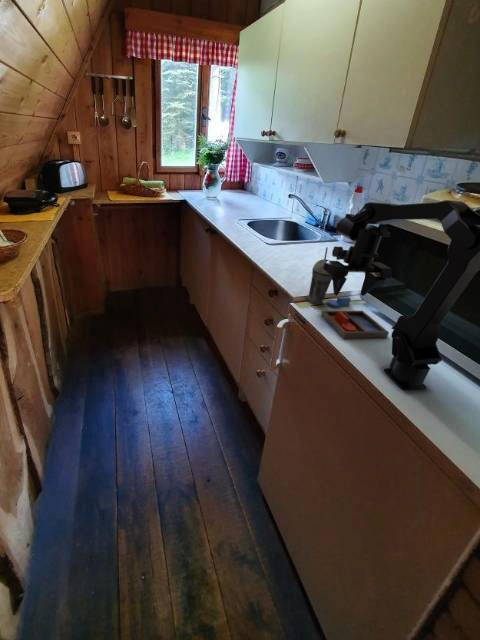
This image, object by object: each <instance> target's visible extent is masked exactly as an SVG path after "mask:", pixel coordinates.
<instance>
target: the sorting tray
mask: <svg viewBox="0 0 480 640" xmlns="http://www.w3.org/2000/svg"><path fill="white" fill-rule="evenodd" d="M337 311H338V310H322V311H321V314H320V317H321V318H322V319H323V320H324V321H325V322H326V323H327V324H328V326H330V327H331V328H332V329H333V330H334V332H336V333H337V334H338V336H339V337H341V339H342V340H353V339H354V340H355V339H356V340H357V339H358V340H360V339H363V340H364V339H387V338H388V336H389V334H390V332H389V331H388V330H387V329H386V328H385V327H383V326H382V325H381V324H379V322H377V321H376V320H375V319H374V318H372V317H371V316H370V315H369V314H367V313H366V311H364V310H341V311H342V312H343V313H344V314H345V315H346V316H347V317H348V318H349V321H348V323H349V324H352V325H353V326H355V328H356V330H355V331H352V332H346V331H345V330H344V329H343V328H342V327H341V326H342V325H341V324H340V323H339V322H338V321H337V320H336V319H335V316H336V313H337Z"/></svg>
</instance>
